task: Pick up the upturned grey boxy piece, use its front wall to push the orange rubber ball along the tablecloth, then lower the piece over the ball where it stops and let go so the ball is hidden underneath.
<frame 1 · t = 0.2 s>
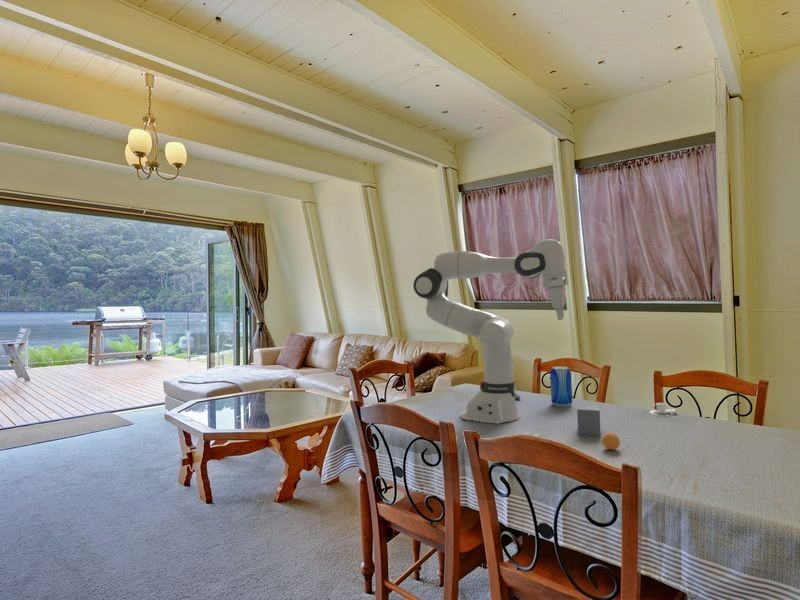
hand: (561, 318, 171), 38 cm above the table, tool pointing down, fingers open, 8 cm apart
grey boxy piece: (589, 432, 158), on the table
teacup and saucer: (667, 416, 174), on the table
woven mat: (507, 399, 211), on the table
ball: (610, 441, 141), on the table
beer can: (561, 405, 195), on the table
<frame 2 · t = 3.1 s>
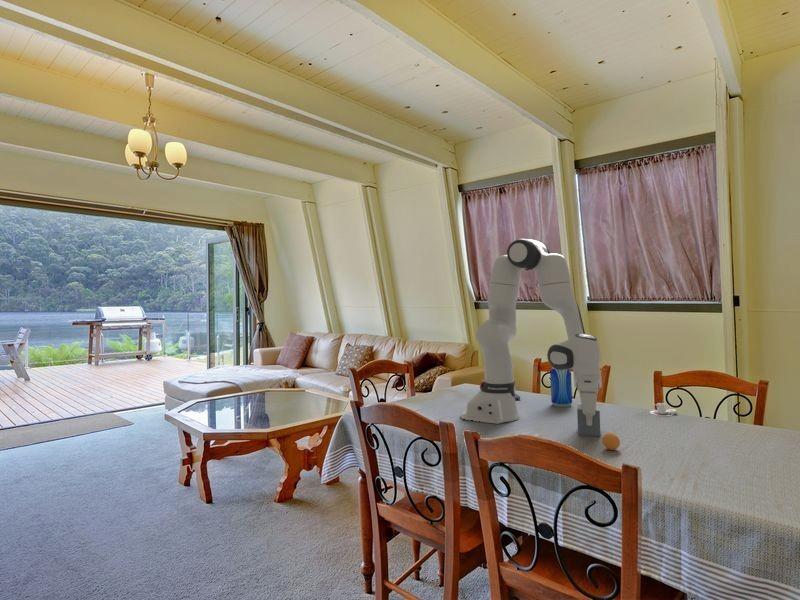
hand: (589, 421, 158), 4 cm above the table, tool pointing down, fingers closed on grey boxy piece, 7 cm apart
grey boxy piece: (589, 432, 158), on the table, touching gripper
everything else where it was.
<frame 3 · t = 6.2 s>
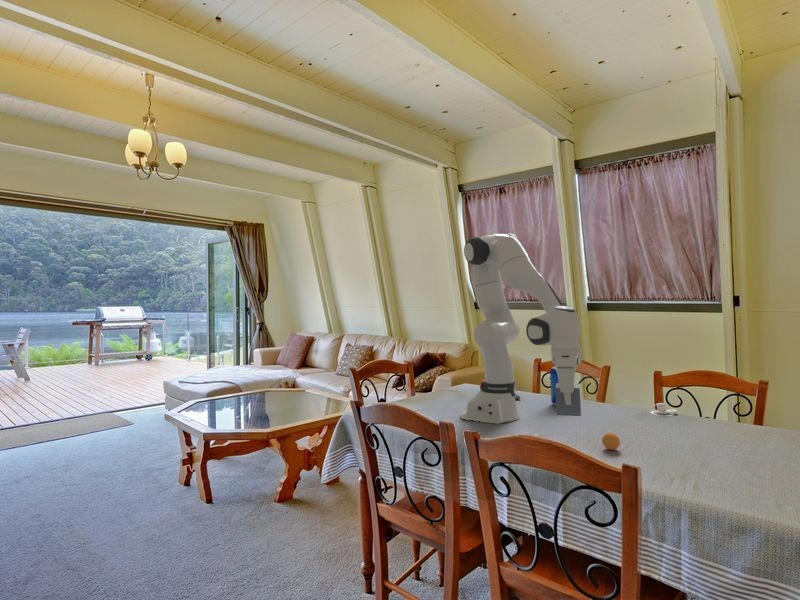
hand: (568, 401, 145), 14 cm above the table, tool pointing down, fingers closed on grey boxy piece, 7 cm apart
grey boxy piece: (569, 412, 145), point 11 cm above the table, touching gripper
everything else where it was.
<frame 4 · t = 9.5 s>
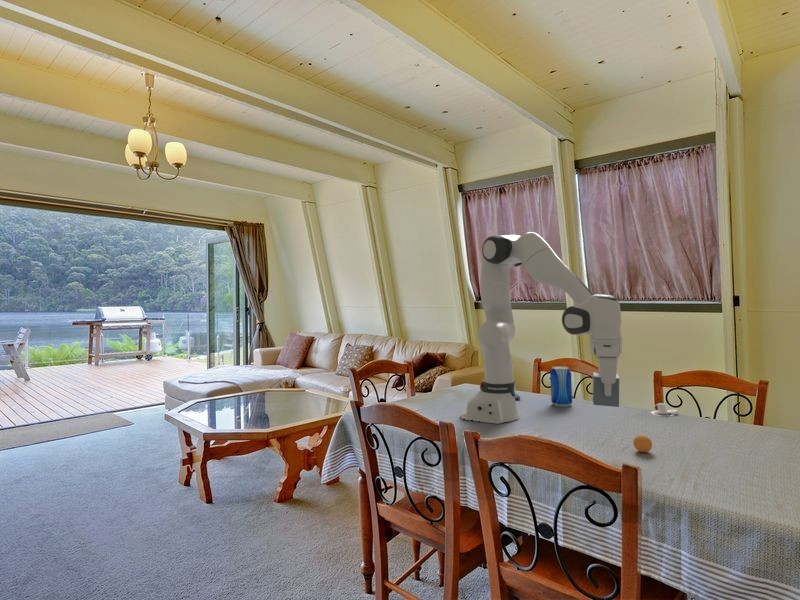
hand: (607, 392, 141), 18 cm above the table, tool pointing down, fingers closed on grey boxy piece, 7 cm apart
grey boxy piece: (605, 403, 141), point 14 cm above the table, touching gripper
ball: (642, 443, 138), on the table
everything else where it was.
when the fingers open (4 cm above the table, at t = 15.3 s): grey boxy piece stays where it is, on the table.
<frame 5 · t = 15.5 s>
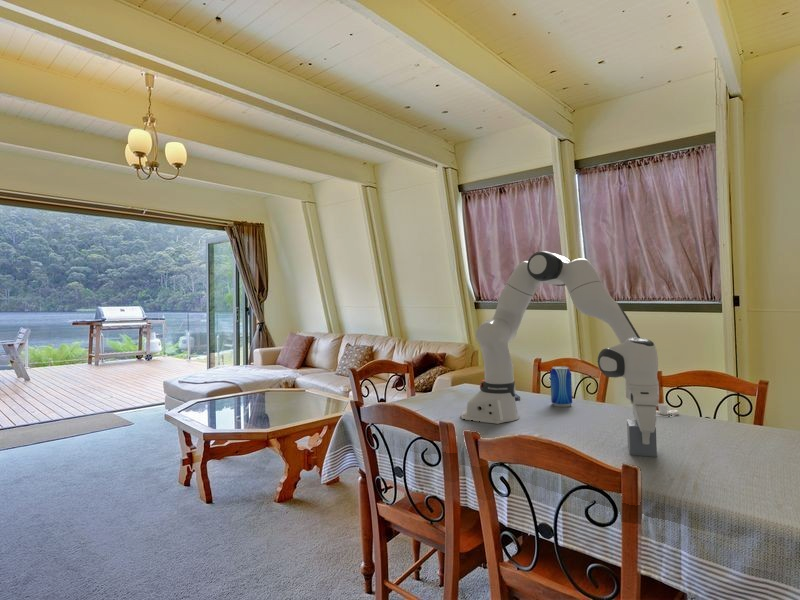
hand: (643, 438, 137), 4 cm above the table, tool pointing down, fingers open, 8 cm apart
grey boxy piece: (641, 451, 138), on the table
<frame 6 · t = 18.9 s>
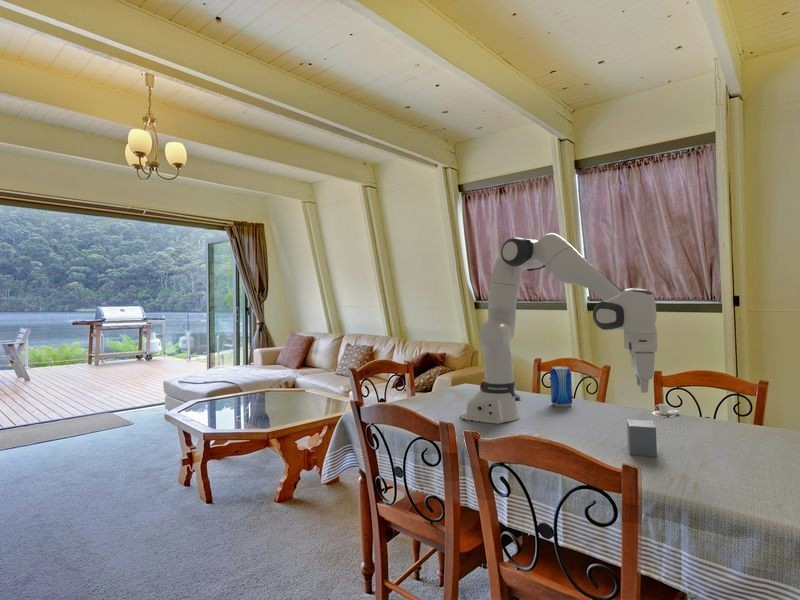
hand: (642, 388, 137), 19 cm above the table, tool pointing down, fingers open, 8 cm apart
at the end: ball 0.3 cm from the grey boxy piece (horizontally); grey boxy piece on the table; ball moved 8.7 cm from its start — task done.
